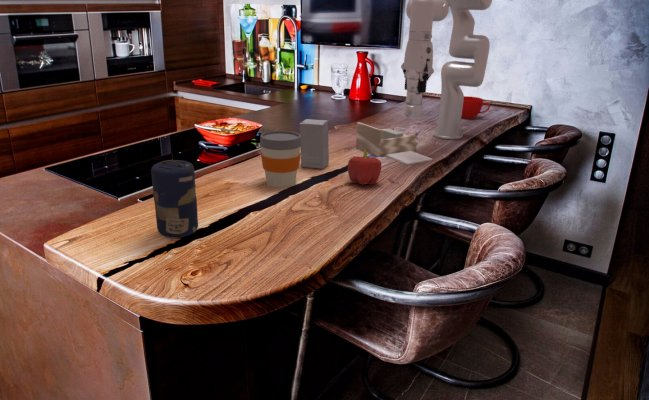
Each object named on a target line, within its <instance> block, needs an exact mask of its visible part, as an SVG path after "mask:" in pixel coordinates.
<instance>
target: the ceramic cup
mask: <svg viewBox="0 0 649 400" xmlns="http://www.w3.org/2000/svg"><path fill="white" fill-rule="evenodd" d="M484 105H487V108H486V109H485V110H482V107H483V106H484ZM490 108H491V105H490V103H489V102H484V99H483V98H482V97H478V96H469V95H467V96H465V95H464V100H463V108H462V115H461V119H463V118H465V119H464V120H474V119H476V117H477V116H478V115H479V114H482V113H484V114H485V113H486V112H488V111H489V110H490ZM481 110H482V111H481ZM473 118H474V119H473Z"/></svg>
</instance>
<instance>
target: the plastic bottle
mask: <svg viewBox="0 0 649 400" xmlns="http://www.w3.org/2000/svg"><path fill="white" fill-rule="evenodd" d="M423 76H424V74H423ZM406 78H407V90H406V97H405V104H404V106H403V115H404V117H406V118H409V119H419V118H421V117H422V115H423V109H424V108H423V93H418V83H419V81H420V76H419V72H416V71H415V70H414V69H410V70H409V71H408V73H407V77H406Z"/></svg>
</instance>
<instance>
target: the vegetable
mask: <svg viewBox="0 0 649 400" xmlns="http://www.w3.org/2000/svg"><path fill="white" fill-rule="evenodd" d="M362 151H363V156H355V155H354V156H352V157H350V159H349V160H348V163H347V173H348V178H349V179H350V181H351V182H352V183H354V184H360V185H366V184H367V185H374V184H375V183H377V181H378V180H379V178H380V176H381V173H382V162H381V160H380V159H379V158H376V157H375V156H374V157H368V152H367V150H366V149H363V150H362Z"/></svg>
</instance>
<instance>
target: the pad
mask: <svg viewBox="0 0 649 400" xmlns="http://www.w3.org/2000/svg"><path fill="white" fill-rule="evenodd" d="M385 157H387V158H389V159H392V160H394V161H397V162H399V163H402V164H404V165H407V166H408V165H413V164H414V165H415V164H419V163H425V162H430V161H433V158H432V157H428V156H426V155H424V154H420V153H418V152H416V151H406V152H400V153H393V154H387V155H385Z"/></svg>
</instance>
